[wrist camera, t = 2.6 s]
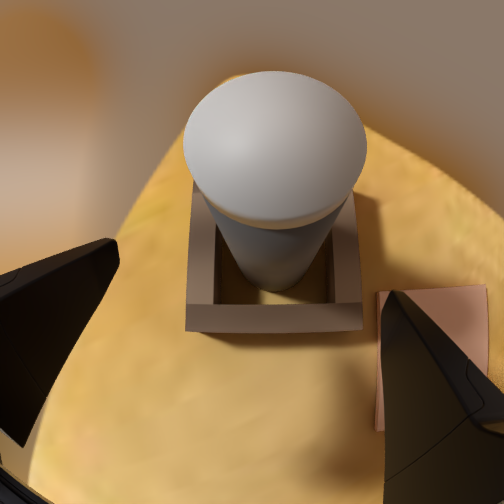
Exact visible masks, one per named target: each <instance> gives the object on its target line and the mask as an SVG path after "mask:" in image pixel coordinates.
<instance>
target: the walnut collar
mask: <svg viewBox="0 0 504 504" xmlns="http://www.w3.org/2000/svg"><path fill="white" fill-rule="evenodd" d="M222 237H223V235H222V233H221V231H220V230H219V228H218V226H217V224H216V222H215V220H214V218H213V216H212V214H211V212H210V210H209V208H208V206H207V204H206V202H205V200H204V198H203V196H202V194H201V192H200V190H199V188H198V186H197V184H196V182H195V180H194V182H193V193H192V205H191V218H190V233H189V249H188V267H187V290H186V326H185V331H188V332H214V333H307V332H333V331H352V330H363V310H362V286H361V270H360V256H359V244H358V233H357V223H356V214H355V205H354V197H353V189H352V191H351V192H350V194H349V196H348V198H347V200H346V202H345V204H344V206H343V207H342V209H341V211H340V213H339V215H338V217H337V218H336V220H335V222H334V224H333V226H332V227H331V229H330V231H329V233H328V235H327V236H326V238H325V258H326V280H327V304H284V305H221V272H222Z"/></svg>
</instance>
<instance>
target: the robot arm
mask: <svg viewBox="0 0 504 504" xmlns="http://www.w3.org/2000/svg"><path fill="white" fill-rule="evenodd" d="M119 264H120V258H119V252H118V245H117V242H116V240H114V239H110V238H103V239H100V240H97V241H94V242H91V243H88V244H85V245H82V246H79V247H76V248H73V249H71V250H68V251H64V252H62V253H59V254H56V255H53V256H51V257H48V258H45V259H43V260H39V261H37V262H34V263H31V264H29V265H26V266H23V267H22V268H18V269H16V270H13V271H10V272H8V273H5V274H2V275H0V431H1V432H2V433H4V434H5V435H6V436H7V437H9V438H10V439H11V440H13V442H15V443H16V444H17V445H19V446H20V447H21V448H24V446H25V444H26V442H27V439H28V437H29V435H30V433H31V430H32V428H33V426H34V424H35V421H36V419H37V417H38V415H39V413H40V410H41V409H42V407H43V405H44V403H45V401H46V397H47V396H48V394H49V392H50V390H51V388H52V386H53V384H54V382H55V380H56V379H57V377H58V375H59V373H60V371H61V369H62V367H63V365H64V364H65V362H66V360H67V358H68V356H69V355H70V353H71V351H72V349H73V347H74V346H75V344H76V342H77V340H78V339H79V337H80V335H81V334H82V332H83V330H84V329H85V327H86V325H87V324H88V322H89V320H90V319H91V317H92V315H93V314H94V312H95V310H96V309H97V307H98V306H99V304H100V302H101V300H102V299H103V297H104V295H105V293H106V291H107V289H108V287H109V285H110V283H111V281H112V279H113V277H114V275H115V273H116V271H117V269H118V267H119ZM380 359H381V372H382V385H383V401H384V426H385V475H384V482H385V483H384V495H383V504H504V394H503V393H502V392H501V391H500V390H499V389H498V388H497V387H496V386H495V385H494V384H493V383H492V382H491V381H490V380H489V379H488V378H487V377H486V376H485V375H484V373H483V372H482V371H481V370H480V369H479V368H478V367H477V366H476V365H475V364H474V363H473V362H472V360H471V359H468V356H467V355H466V354H465V353H464V352H463V351H462V350H461V349H460V348H459V347H458V346H457V344H456V343H455V342H454V341H453V340H452V339H451V338H450V337H449V336H448V335H447V334H446V333H445V332H444V331H443V330H442V329H441V328H440V327H439V326H438V325H437V324H436V323H435V322H434V321H433V320H432V319H431V318H430V317H429V316H428V315H427V314H426V313H425V312H424V311H423V310H422V309H421V308H420V307H419V306H418V305H417V304H416V303H415V302H414V301H413V300H412V299H411V298H410V297H409V296H408V295H407V294H406V293H405V292H403V291H398V290H391V291H390V292H389V294H388V297H387V299H386V301H385V304H384V306H383V308H382V311H381V346H380ZM0 504H54V503H53V502H51V501H49V500H48V499H46V498H45V497H43V496H42V495H41V494H39V493H38V492H36V491H35V490H33V489H32V488H31V487H29V486H28V485H27V484H25V483H24V482H23V481H21V480H20V479H18V478H17V477H16V476H15V475H14V474H12V473H11V472H10V471H9V470H7V469H6V468H5V467H4V466H3V465H2V460H1V456H0Z"/></svg>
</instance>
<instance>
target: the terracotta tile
mask: <svg viewBox="0 0 504 504" xmlns="http://www.w3.org/2000/svg"><path fill="white" fill-rule="evenodd" d="M400 291H403V292H405V293H406V294H407V295H408V296H409V297H410V298H411V299H412V300H413V301H414V302H415V303H416V304H417V305H418V306H419V307H420V308H421V309H422V310H423V311H424V312H425V313H426V314H427V315H428V316H429V317H430V318H431V319H432V320H433V321H434V322H435V323H436V324H437V325H438V326H439V327H440V328H441V329H442V330H443V331H444V332H445V333H446V334H447V335H448V336H449V337H450V338H451V339H452V340H453V341H454V342H455V343H456V344H457V346H458V347H459V348H460V349H461V350H462V351H463V352H464V353H465V354H466V355H467V356H468V359H471V360H472V362H473V363H474V364H475V365H476V366H477V367H478V368H479V369H480V370H481V371H482V372H483V373H484V375H485V376H486V377H487V369H488V311H487V295H486V284H483V285H471V286H459V287H446V288H432V289H417V290H400ZM389 292H390V291H380V292H377V293H376V297H377V327H378V367H377V395H376V412H375V425H374V429H375V430H376V431H377V432H379V431H385V426H384V401H383V385H382V372H381V359H380V346H381V311H382V308H383V306H384V304H385V301H386V299H387V297H388V294H389Z"/></svg>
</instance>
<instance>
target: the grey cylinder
mask: <svg viewBox="0 0 504 504" xmlns="http://www.w3.org/2000/svg"><path fill="white" fill-rule="evenodd" d="M183 148H184V156H185V159H186V163H187V166H188V168H189V170H190V172H191V174H192V176H193V178H194V180H195V182H196V184H197V186H198V188H199V190H200V192H201V194H202V196H203V198H204V200H205V202H206V204H207V206H208V208H209V210H210V212H211V214H212V216H213V218H214V220H215V222H216V224H217V226H218V228H219V230H220V231H221V233H222V235H223V237H224V239H225V241H226V243H227V245H228V247H229V249H230V251H231V253H232V255H233V257H234V259H235V260H236V262H237V264H238V266H239V268H240V270H241V272H242V274H243V275H244V277H245V278H246V279H247V280H248V281H249V282H250V283H251V284H252V285H254V286H255V287H257V288H259V289H262V290H265V291H273V292H275V291H282V290H286V289H288V288H290V287H292V286H294V285H295V284H297V283H298V282H299V281H300V280H301V279H302V277H303V276H304V275H305V273H306V271H307V270H308V268H309V266H310V264H311V263H312V261H313V259H314V257H315V256H316V254H317V252H318V251H319V249H320V247H321V245H322V243H323V242H324V240H325V238H326V236H327V235H328V233H329V231H330V229H331V227H332V226H333V224H334V222H335V220H336V218H337V217H338V215H339V213H340V211H341V209H342V207H343V206H344V204H345V202H346V200H347V198H348V196H349V194H350V192H351V191H352V189H353V187H354V185H355V183H356V181H357V179H358V177H359V175H360V173H361V171H362V169H363V166H364V163H365V159H366V153H367V141H366V134H365V130H364V127H363V124H362V122H361V120H360V118H359V116H358V114H357V113H356V111H355V110H354V108H353V107H352V106H351V105H350V104H349V102H348V101H347V100H346V99H345V98H344V97H343V96H342V95H340V94H339V93H338V92H337V91H335V90H334V89H332V88H331V87H329V86H328V85H326V84H324V83H322V82H320V81H317V80H315V79H313V78H310V77H307V76H304V75H300V74H296V73H290V72H280V71H279V72H277V71H268V72H258V73H251V74H247V75H244V76H240V77H237V78H235V79H232V80H230V81H228V82H226V83H224V84H222V85H220V86H219V87H217V88H216V89H214V90H213V91H211V92H210V93H209V94H208V95H207V96H206V97H205V98H204V99H203V100H202V101H201V102H200V103H199V104H198V105H197V107H196V108H195V109H194V111H193V112H192V114H191V116H190V118H189V120H188V123H187V125H186V129H185V133H184V141H183Z"/></svg>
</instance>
